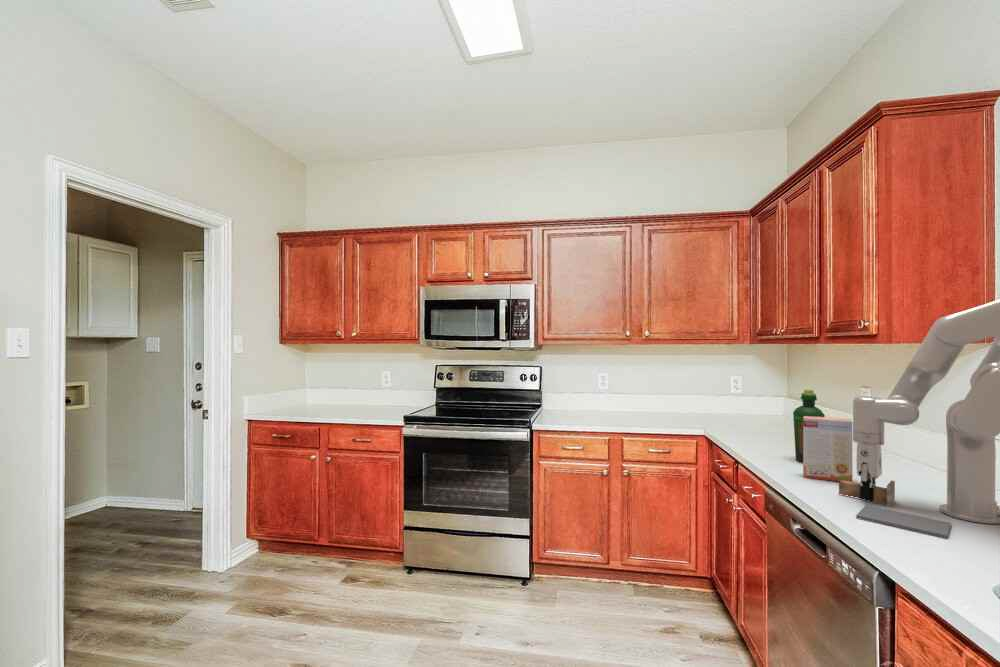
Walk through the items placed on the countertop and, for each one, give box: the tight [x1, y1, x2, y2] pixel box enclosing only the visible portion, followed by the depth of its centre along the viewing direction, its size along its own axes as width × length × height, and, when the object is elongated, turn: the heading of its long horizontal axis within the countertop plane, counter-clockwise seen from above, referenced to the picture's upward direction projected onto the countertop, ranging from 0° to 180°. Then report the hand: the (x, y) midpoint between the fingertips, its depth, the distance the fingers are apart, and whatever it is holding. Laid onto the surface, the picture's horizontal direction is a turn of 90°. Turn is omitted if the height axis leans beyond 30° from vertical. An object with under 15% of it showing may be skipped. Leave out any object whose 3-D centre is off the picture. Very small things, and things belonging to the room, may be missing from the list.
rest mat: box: [855, 504, 952, 540], centre depth 128 cm, size 18×12×1 cm, turn 44°
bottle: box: [792, 389, 825, 464], centre depth 191 cm, size 11×11×28 cm
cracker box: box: [802, 416, 853, 483], centre depth 168 cm, size 14×6×21 cm, turn 58°
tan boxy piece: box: [838, 480, 896, 508], centre depth 147 cm, size 13×8×6 cm, turn 44°
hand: (867, 498), depth 146 cm, fingers closed on tan boxy piece, 2 cm apart
